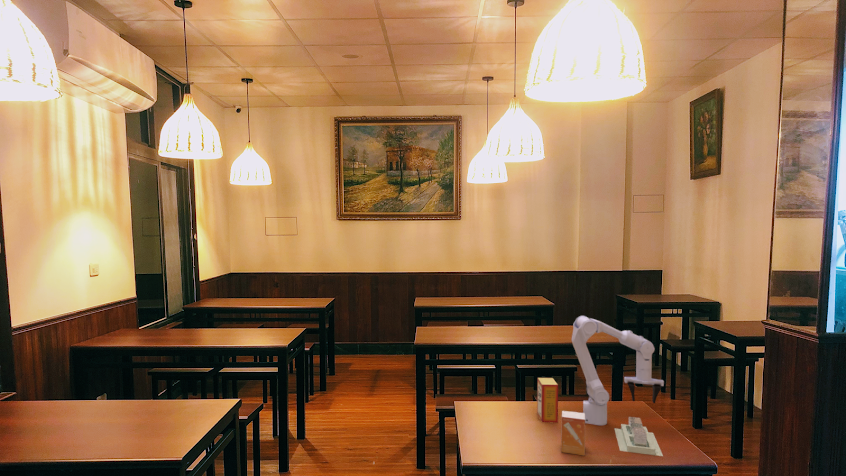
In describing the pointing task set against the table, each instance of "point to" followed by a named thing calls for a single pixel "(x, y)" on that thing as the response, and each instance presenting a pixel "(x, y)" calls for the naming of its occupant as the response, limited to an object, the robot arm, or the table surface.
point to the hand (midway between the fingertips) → (643, 401)
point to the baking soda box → (547, 400)
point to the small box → (573, 433)
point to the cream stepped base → (626, 445)
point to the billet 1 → (634, 423)
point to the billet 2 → (639, 437)
